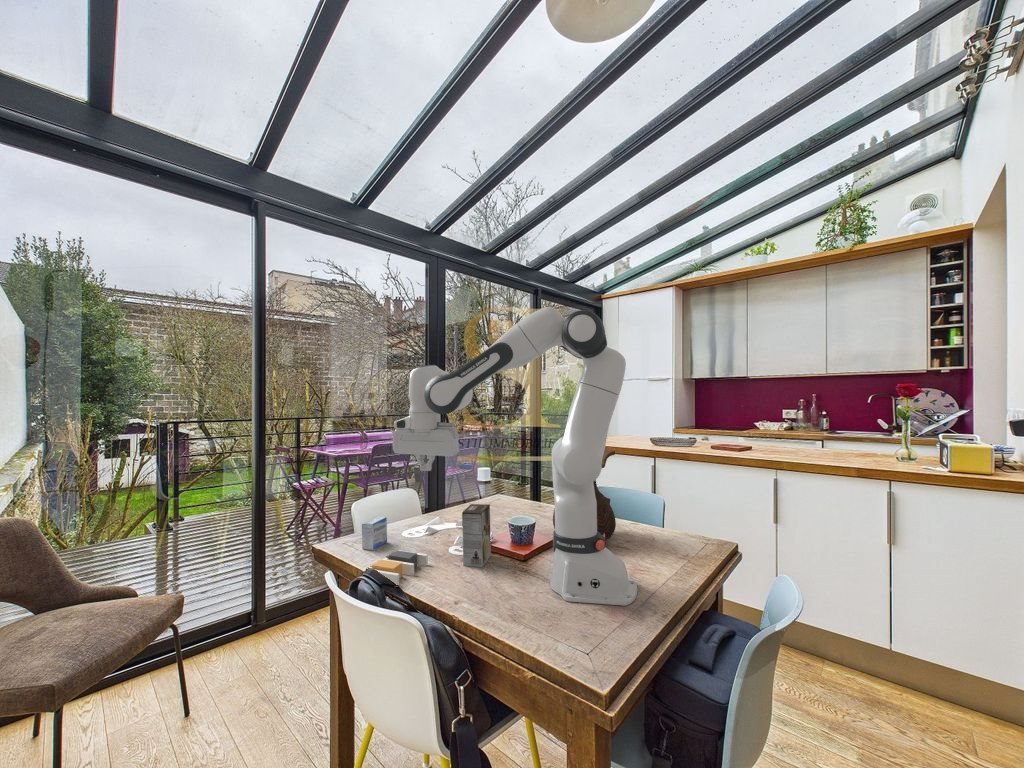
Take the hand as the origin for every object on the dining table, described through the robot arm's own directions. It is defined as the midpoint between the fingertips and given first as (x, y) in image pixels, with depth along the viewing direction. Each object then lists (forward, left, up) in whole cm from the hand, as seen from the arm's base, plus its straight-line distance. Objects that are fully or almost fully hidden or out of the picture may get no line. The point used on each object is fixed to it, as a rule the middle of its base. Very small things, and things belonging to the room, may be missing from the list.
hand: (425, 470), depth 126 cm
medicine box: (+28, -12, -29) cm, 42 cm away
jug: (-37, -40, -29) cm, 62 cm away
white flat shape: (+8, -30, -30) cm, 43 cm away
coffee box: (-10, -12, -29) cm, 33 cm away
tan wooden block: (+9, +7, -29) cm, 31 cm away
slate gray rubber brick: (+8, -1, -29) cm, 31 cm away
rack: (+8, +3, -29) cm, 30 cm away
